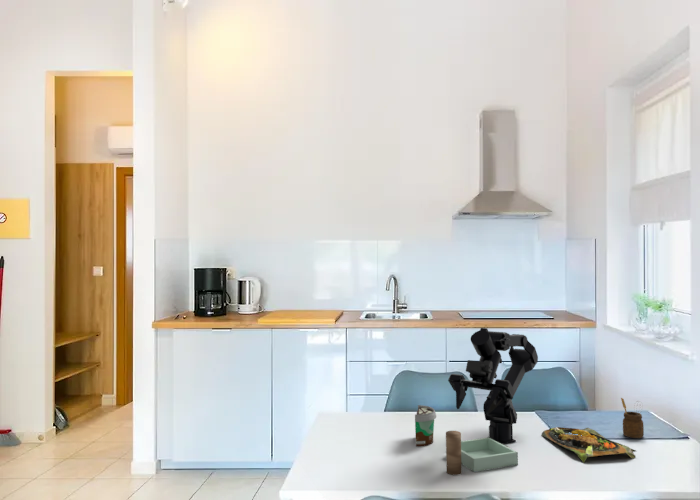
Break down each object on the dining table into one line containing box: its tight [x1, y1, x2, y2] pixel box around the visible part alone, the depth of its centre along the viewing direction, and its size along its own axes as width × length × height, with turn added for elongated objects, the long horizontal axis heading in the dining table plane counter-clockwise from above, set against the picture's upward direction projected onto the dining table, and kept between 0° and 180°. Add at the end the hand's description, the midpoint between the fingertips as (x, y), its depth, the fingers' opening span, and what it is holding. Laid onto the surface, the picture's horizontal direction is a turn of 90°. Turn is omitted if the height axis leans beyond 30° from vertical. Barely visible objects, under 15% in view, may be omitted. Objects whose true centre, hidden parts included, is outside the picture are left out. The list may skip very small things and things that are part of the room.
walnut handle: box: [445, 430, 463, 476], centre depth 148 cm, size 4×4×10 cm
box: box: [461, 436, 519, 473], centre depth 157 cm, size 14×14×4 cm
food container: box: [414, 404, 437, 448], centre depth 174 cm, size 12×6×10 cm, turn 168°
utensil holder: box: [620, 397, 645, 439], centre depth 176 cm, size 6×6×12 cm
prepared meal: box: [541, 426, 637, 464], centre depth 168 cm, size 28×4×18 cm
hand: (471, 410), depth 158 cm, fingers open, 9 cm apart
